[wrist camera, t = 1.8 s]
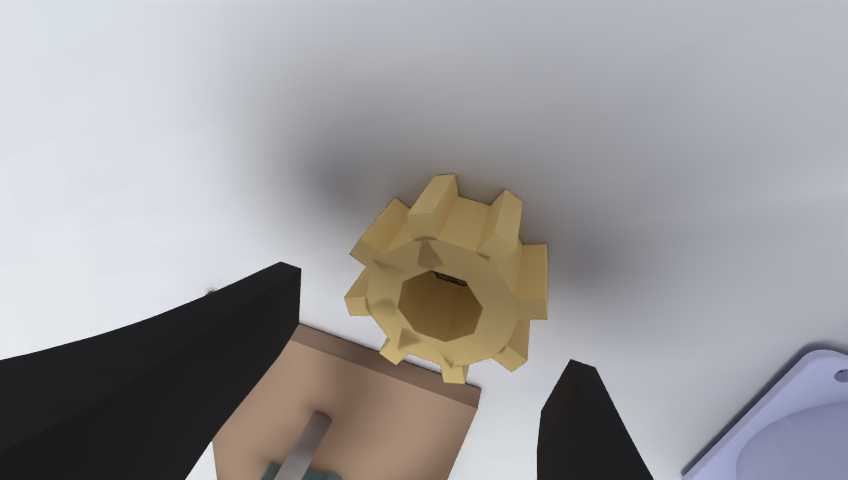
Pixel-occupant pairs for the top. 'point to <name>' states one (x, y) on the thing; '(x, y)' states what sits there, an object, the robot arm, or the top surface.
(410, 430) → the gear board
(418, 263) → the ochre gear
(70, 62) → the top surface
